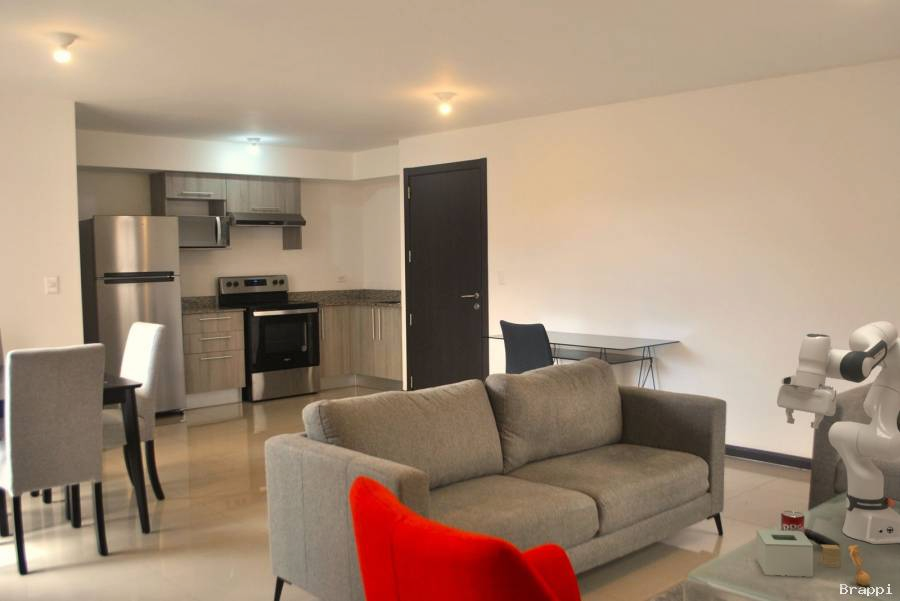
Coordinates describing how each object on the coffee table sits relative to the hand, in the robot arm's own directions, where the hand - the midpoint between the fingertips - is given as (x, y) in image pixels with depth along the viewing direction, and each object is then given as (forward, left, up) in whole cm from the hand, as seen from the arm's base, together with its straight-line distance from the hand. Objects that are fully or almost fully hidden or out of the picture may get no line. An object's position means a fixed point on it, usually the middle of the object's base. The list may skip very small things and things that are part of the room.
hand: (801, 425), depth 251 cm
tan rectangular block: (-9, 0, -45) cm, 46 cm away
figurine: (-13, +14, -45) cm, 49 cm away
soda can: (-1, -13, -45) cm, 47 cm away
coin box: (+6, +4, -45) cm, 46 cm away
